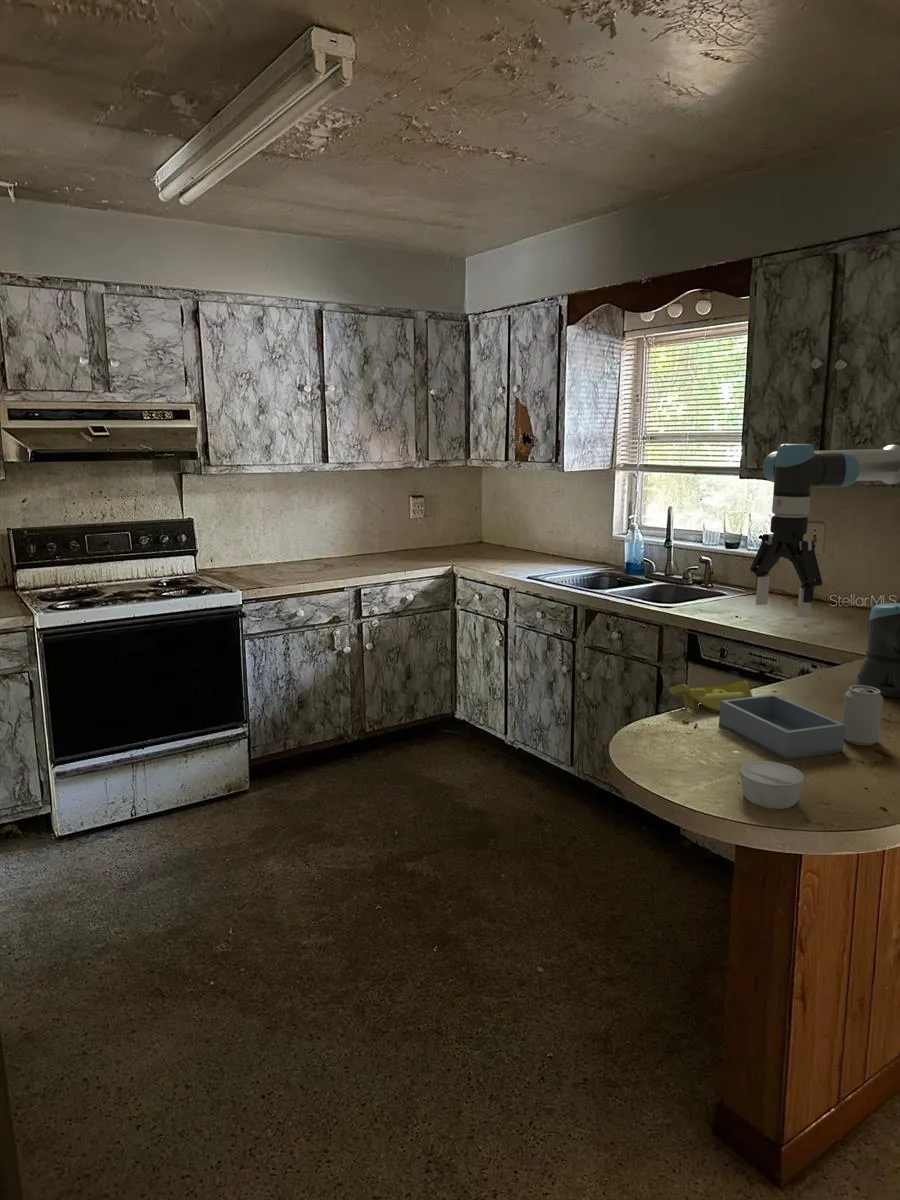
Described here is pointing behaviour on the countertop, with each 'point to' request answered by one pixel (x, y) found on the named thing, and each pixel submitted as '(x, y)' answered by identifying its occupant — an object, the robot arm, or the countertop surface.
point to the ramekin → (771, 784)
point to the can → (862, 714)
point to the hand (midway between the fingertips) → (781, 610)
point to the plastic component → (711, 694)
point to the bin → (782, 726)
